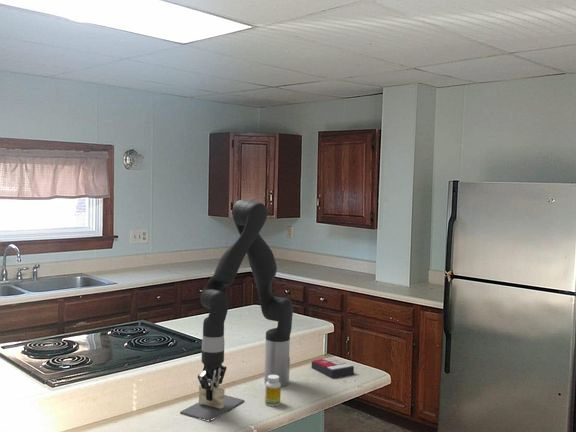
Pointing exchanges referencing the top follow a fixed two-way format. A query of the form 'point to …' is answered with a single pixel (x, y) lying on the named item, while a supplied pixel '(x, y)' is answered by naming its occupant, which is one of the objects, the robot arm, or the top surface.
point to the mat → (211, 408)
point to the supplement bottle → (272, 390)
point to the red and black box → (333, 367)
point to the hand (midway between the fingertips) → (211, 398)
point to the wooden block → (216, 399)
